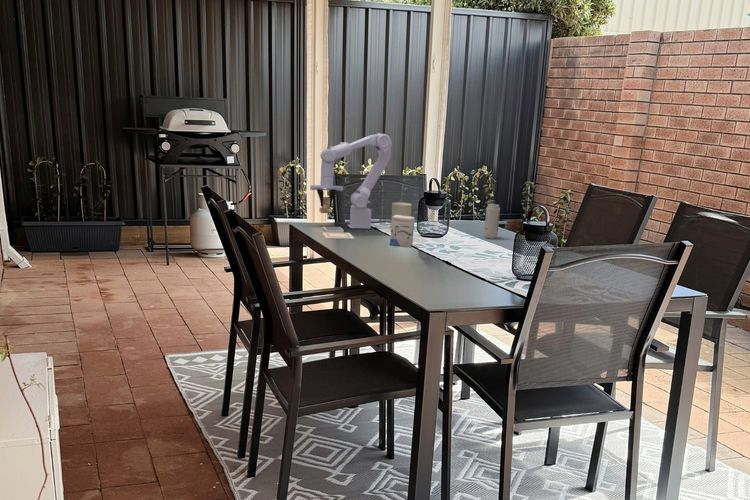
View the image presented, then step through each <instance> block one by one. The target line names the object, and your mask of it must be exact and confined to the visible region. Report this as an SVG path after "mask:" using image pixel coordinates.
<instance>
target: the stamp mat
mask: <svg viewBox="0 0 750 500" xmlns="http://www.w3.org/2000/svg"><path fill="white" fill-rule="evenodd" d="M321 234H322V236H323V237H324V238H325V239H327V240H331V239H332V240H337V239H338V240H355V239H356V238H355V237H354V236H353V235H352V234H351V233H350V232H344V233H340V232H325V231H323V232H321Z"/></svg>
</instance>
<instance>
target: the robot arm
mask: <svg viewBox="0 0 750 500" xmlns="http://www.w3.org/2000/svg"><path fill="white" fill-rule="evenodd" d="M366 146H373V147H375V148H376V150H377V154H378V157H377V159H376V161H374V163H373V165H372V167H371V169H370V170H369V172H368V174H367V175H366V177H365V178H364V180H363V182H362V184H360V185H359V187H357V189H356V191H354V192H353V193H352V194H351V195H350V202H351V205H350V213H349V214H350V215H349V224H347V226H348V227H349V228H350V229H372V209H371V208H368V207H367V205H368V203H369V201H368V200H369V198H370V196H371V191H372V190H373V188H374V187H375V185H376V183H377V182H378V180H379V179H380V177H381V175H382V174H383V172H384V171H385V169H386V167H387V165H388V163H389V162H390V160H391V158H392V146H393V142H392V139H391V137H390V136H389V135H388V134H386V133H381V132H378V133H376V134H371V135H366V136H365V137H362V138H360V139H358V140H355V141H353V142H352V141H351V142H350V143H348V142H347V141H345V142H343V141H341V142H339V144H337V145H334V146H332V145H331V146H329V148H325V149H324V148H323V150H322V151H321V153H320V155H319V156H320V159H321V165H320V181H319V182H320V183H319V185H318V184H317V185H315V184H313V185H312V184H311V185H310V184H309V187H310V188H309V190H311V191H316V193H317V195H318V198H319V201H320V208H322V207H323V197H324V191H329V192H328V197H329V198H330V208H331V207H332V205H333V204H332V203H333V201H334V198H335V196H336V195H337V191H339V192H343V191H344V186H342V185H334V179H335V178H334V175H335V173H334V171H335V165H334V164H335V161H336V160H339V159H341V158H343V157H347V156H349V155H350V154H351V152H352V151H354V150H357V149H360V148H364V147H366Z"/></svg>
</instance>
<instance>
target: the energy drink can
mask: <svg viewBox="0 0 750 500" xmlns="http://www.w3.org/2000/svg"><path fill="white" fill-rule="evenodd" d="M500 213H501V207H500V204H496V203H488V204H487V207H486V208H485V219H484V229H483V231H484V232H483V236H484V239H487V238H489V239H488V240H496V239H497V238H498V235H499V225H500V224H499V223H500V216H501V215H500ZM495 238H496V239H495Z"/></svg>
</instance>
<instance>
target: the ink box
mask: <svg viewBox="0 0 750 500" xmlns="http://www.w3.org/2000/svg"><path fill="white" fill-rule="evenodd" d="M390 227H391V228H390V239H389V245H390V246H397V247H405V248H410V247H412V246H413V244H414V243H413V242H414V231H415V229H414V228H415V216H411V217H410V216H402V215H394V216H393V217H392V224H391V223H390Z"/></svg>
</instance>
